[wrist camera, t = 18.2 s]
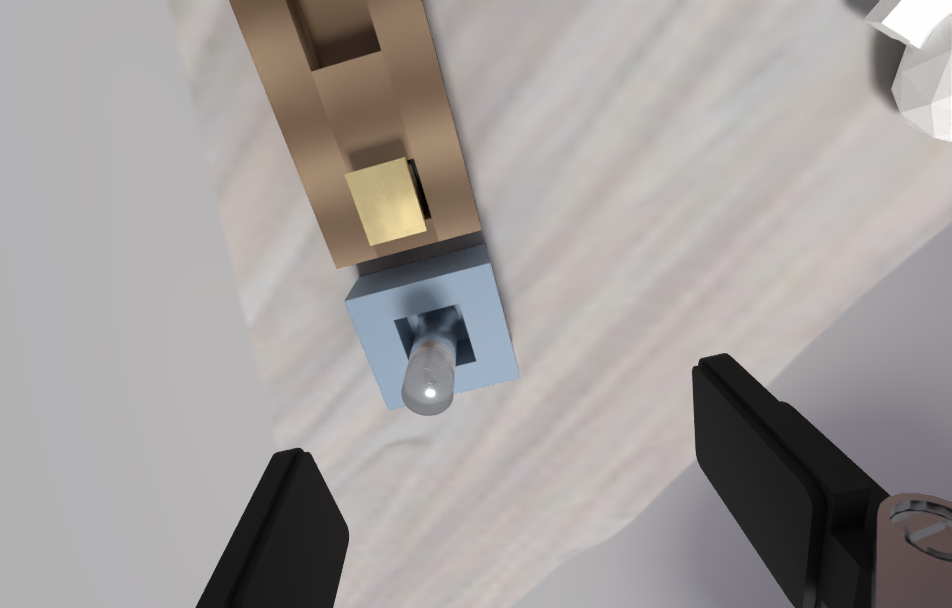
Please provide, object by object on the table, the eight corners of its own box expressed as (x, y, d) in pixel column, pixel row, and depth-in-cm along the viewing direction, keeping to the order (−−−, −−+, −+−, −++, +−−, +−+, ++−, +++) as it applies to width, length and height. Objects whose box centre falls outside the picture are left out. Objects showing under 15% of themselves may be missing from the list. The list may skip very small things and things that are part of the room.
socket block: (242, -28, 27) (208, -50, 24) (401, -78, 27) (392, -110, 23) (349, 252, 34) (336, 268, 30) (478, 217, 34) (481, 230, 30)
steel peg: (414, 306, 35) (394, 378, 26) (452, 298, 35) (445, 366, 25) (425, 340, 36) (409, 420, 27) (462, 332, 36) (459, 409, 27)
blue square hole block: (359, 276, 35) (344, 301, 30) (485, 243, 34) (490, 262, 30) (396, 375, 38) (388, 410, 34) (512, 345, 38) (520, 378, 33)
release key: (360, 165, 31) (344, 174, 26) (412, 151, 31) (404, 157, 26) (382, 228, 32) (370, 246, 28) (431, 215, 32) (427, 230, 28)
